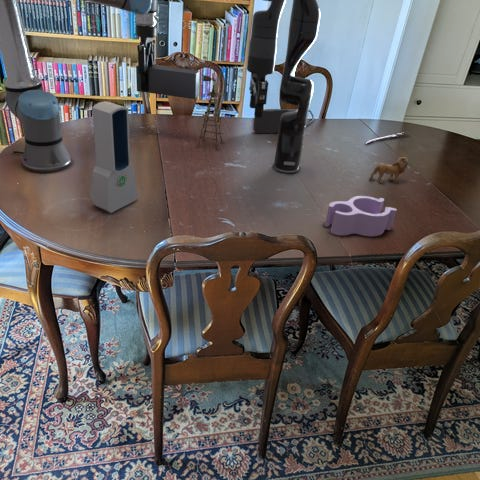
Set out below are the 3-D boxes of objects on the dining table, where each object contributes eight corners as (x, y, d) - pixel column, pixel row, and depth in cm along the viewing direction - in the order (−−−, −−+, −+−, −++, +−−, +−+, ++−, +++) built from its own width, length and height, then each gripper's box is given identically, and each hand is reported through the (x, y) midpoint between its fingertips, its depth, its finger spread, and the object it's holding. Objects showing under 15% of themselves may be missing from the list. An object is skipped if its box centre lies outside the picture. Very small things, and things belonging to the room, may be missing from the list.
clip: (337, 240, 135) (342, 219, 131) (318, 218, 145) (322, 198, 141) (395, 233, 141) (402, 213, 137) (373, 213, 151) (378, 194, 147)
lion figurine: (397, 176, 178) (404, 154, 173) (406, 182, 174) (413, 159, 169) (364, 178, 173) (370, 156, 168) (373, 185, 169) (379, 162, 164)
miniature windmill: (217, 149, 184) (223, 71, 168) (196, 146, 185) (200, 68, 169) (222, 142, 191) (228, 66, 175) (203, 138, 192) (206, 63, 176)
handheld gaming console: (299, 130, 212) (303, 108, 207) (302, 132, 210) (305, 110, 205) (252, 131, 205) (254, 109, 200) (254, 133, 203) (257, 111, 198)
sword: (404, 132, 223) (404, 129, 222) (409, 134, 221) (409, 132, 220) (360, 143, 207) (361, 141, 206) (365, 146, 205) (366, 143, 204)
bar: (136, 91, 181) (135, 66, 176) (141, 87, 186) (140, 63, 181) (195, 99, 179) (196, 74, 174) (198, 95, 183) (199, 70, 178)
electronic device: (108, 214, 135) (101, 113, 119) (90, 206, 138) (81, 106, 122) (138, 199, 144) (135, 103, 128) (120, 191, 147) (115, 96, 131)
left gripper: (147, 29, 162) (148, 96, 175) (163, 22, 177) (163, 84, 190) (127, 27, 163) (129, 93, 175) (144, 20, 178) (146, 81, 191)
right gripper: (280, 60, 122) (272, 121, 131) (270, 49, 134) (263, 105, 142) (252, 58, 121) (246, 120, 129) (244, 47, 132) (239, 104, 141)
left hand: (147, 88), depth 183 cm, fingers closed on bar, 5 cm apart
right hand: (255, 112), depth 136 cm, fingers open, 8 cm apart
